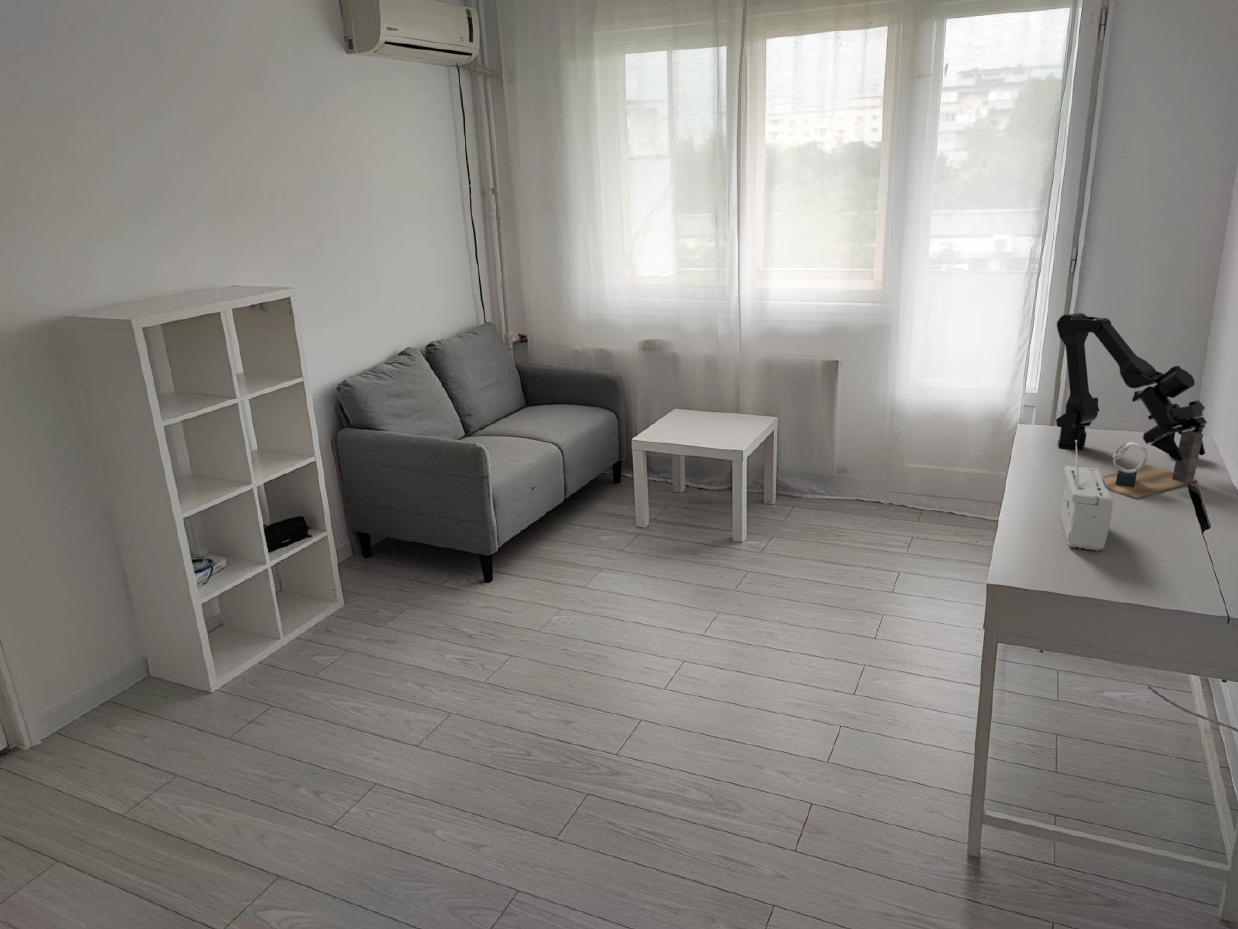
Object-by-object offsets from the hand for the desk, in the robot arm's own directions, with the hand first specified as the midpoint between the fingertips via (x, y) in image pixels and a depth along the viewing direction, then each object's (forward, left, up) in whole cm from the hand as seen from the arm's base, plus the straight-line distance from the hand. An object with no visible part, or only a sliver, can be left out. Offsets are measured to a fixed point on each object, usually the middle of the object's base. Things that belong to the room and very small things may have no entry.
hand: (1192, 457), depth 234 cm
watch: (-15, -7, -7) cm, 18 cm away
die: (+1, +23, -7) cm, 24 cm away
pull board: (-11, -3, -7) cm, 13 cm away
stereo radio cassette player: (-28, -45, -8) cm, 54 cm away
